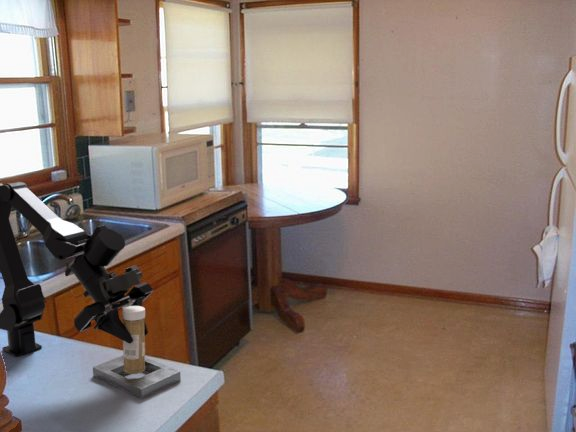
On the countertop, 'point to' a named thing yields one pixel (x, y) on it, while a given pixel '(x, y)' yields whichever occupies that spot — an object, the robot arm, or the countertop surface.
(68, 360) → the countertop surface
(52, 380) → the countertop surface
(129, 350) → the sprinkles bottle
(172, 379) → the gray rectangular frame
